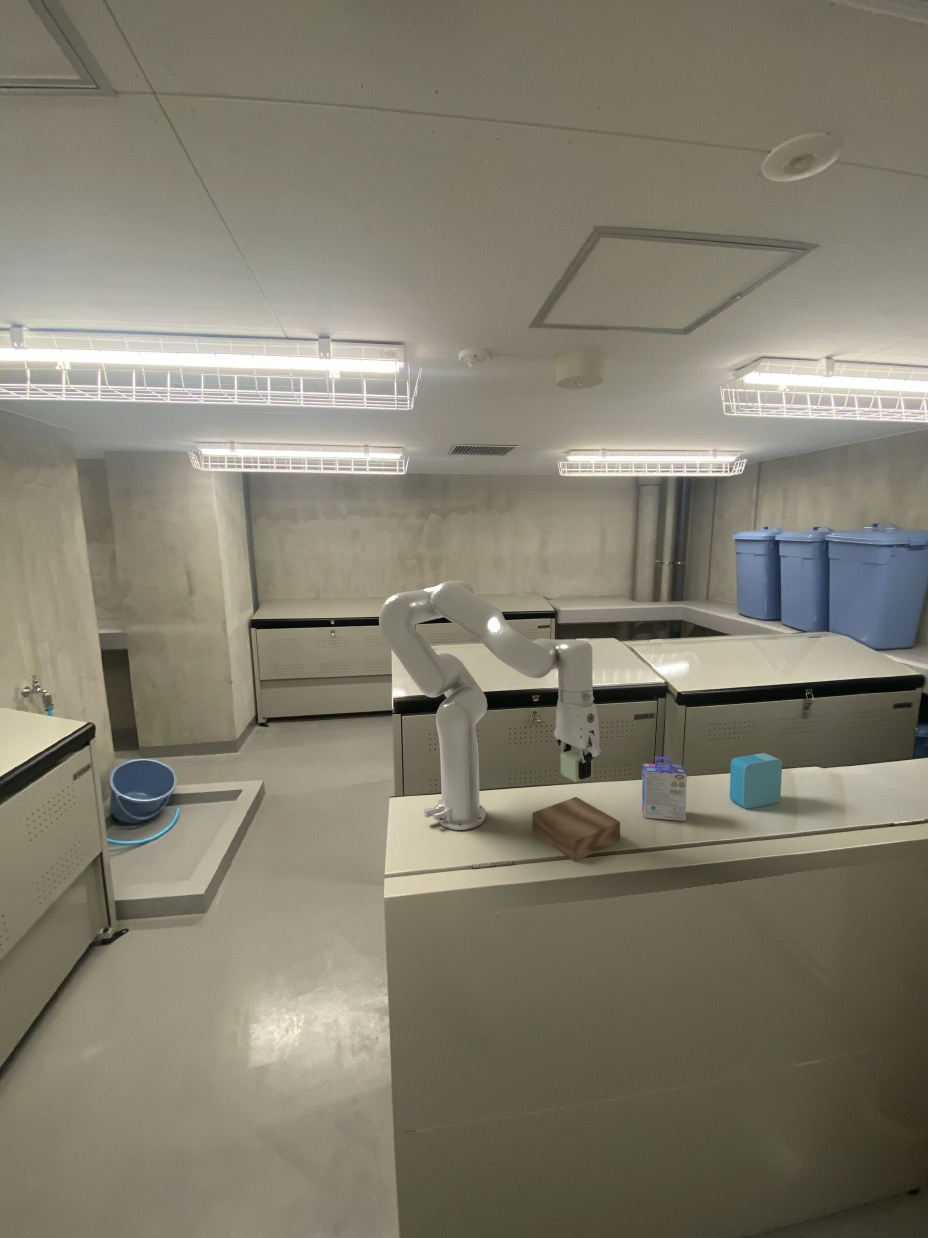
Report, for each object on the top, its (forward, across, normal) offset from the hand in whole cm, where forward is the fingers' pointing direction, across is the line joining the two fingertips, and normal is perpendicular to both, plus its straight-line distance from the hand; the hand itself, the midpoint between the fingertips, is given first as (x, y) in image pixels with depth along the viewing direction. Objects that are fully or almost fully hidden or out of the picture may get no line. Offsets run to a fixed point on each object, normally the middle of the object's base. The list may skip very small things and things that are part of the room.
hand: (576, 772), depth 108 cm
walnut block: (+16, 0, 0) cm, 16 cm away
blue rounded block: (+16, -12, -50) cm, 54 cm away
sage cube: (+1, 0, 0) cm, 1 cm away
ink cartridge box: (+16, -4, -25) cm, 30 cm away
